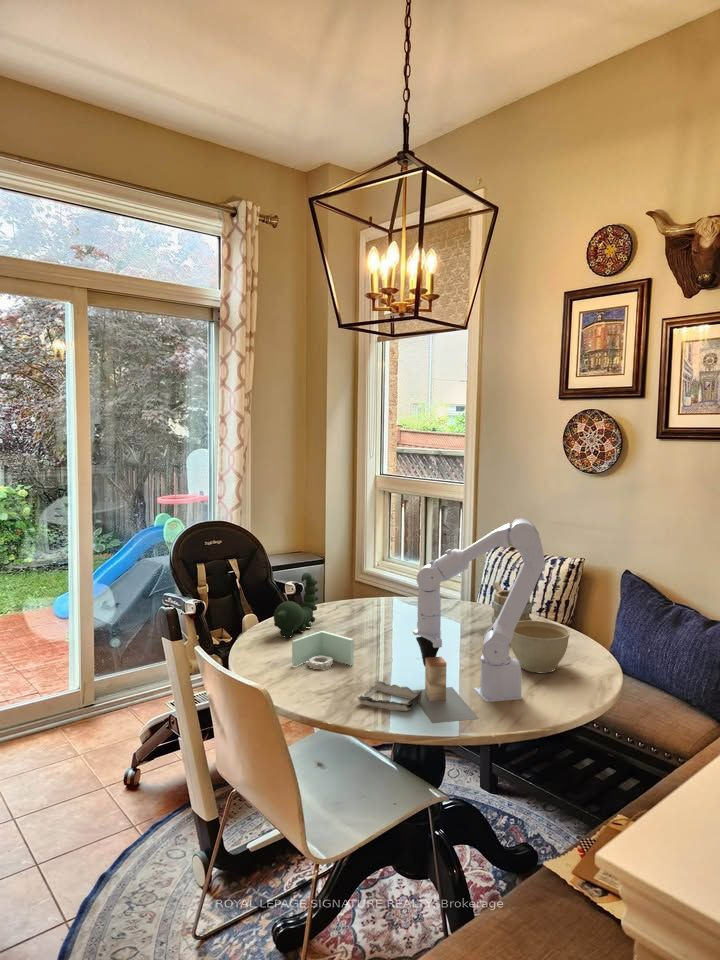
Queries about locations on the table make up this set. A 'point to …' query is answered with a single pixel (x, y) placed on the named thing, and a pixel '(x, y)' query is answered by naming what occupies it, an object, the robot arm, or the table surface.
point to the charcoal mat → (446, 707)
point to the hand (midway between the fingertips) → (428, 666)
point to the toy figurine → (297, 610)
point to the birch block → (435, 678)
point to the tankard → (500, 600)
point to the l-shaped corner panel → (322, 650)
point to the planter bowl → (539, 645)
